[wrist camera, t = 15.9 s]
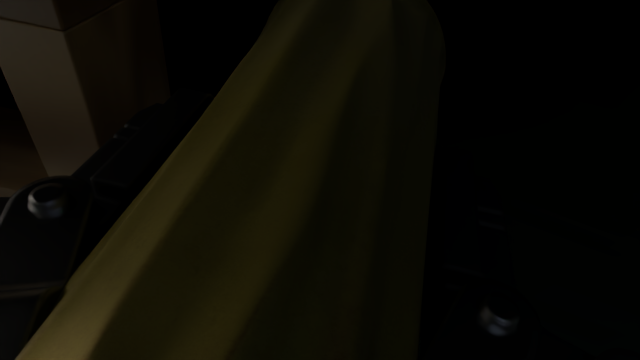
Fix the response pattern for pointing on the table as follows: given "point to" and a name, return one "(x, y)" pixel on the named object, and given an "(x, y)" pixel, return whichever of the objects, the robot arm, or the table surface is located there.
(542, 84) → the table surface
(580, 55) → the table surface
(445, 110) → the table surface
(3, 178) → the holder
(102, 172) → the robot arm
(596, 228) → the table surface
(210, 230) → the vase
